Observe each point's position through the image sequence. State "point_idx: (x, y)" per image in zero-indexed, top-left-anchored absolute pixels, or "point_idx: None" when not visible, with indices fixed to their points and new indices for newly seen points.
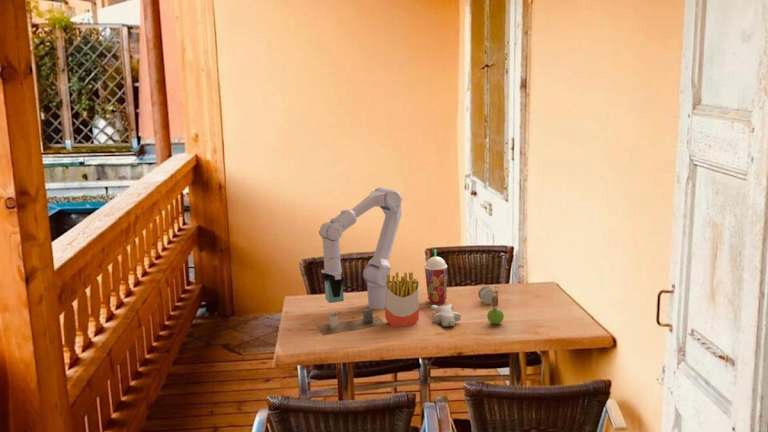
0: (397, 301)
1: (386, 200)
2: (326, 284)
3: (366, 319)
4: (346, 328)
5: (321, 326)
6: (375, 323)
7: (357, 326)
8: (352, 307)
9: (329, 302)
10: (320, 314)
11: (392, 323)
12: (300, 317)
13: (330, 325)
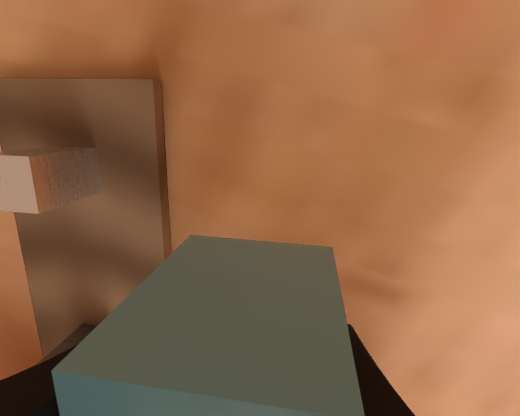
0: None
1: None
2: (194, 367)
3: (64, 344)
4: (54, 225)
5: (131, 110)
6: None
7: (66, 281)
8: (431, 384)
9: (189, 239)
10: (426, 186)
11: None
12: (455, 34)
13: (49, 148)
